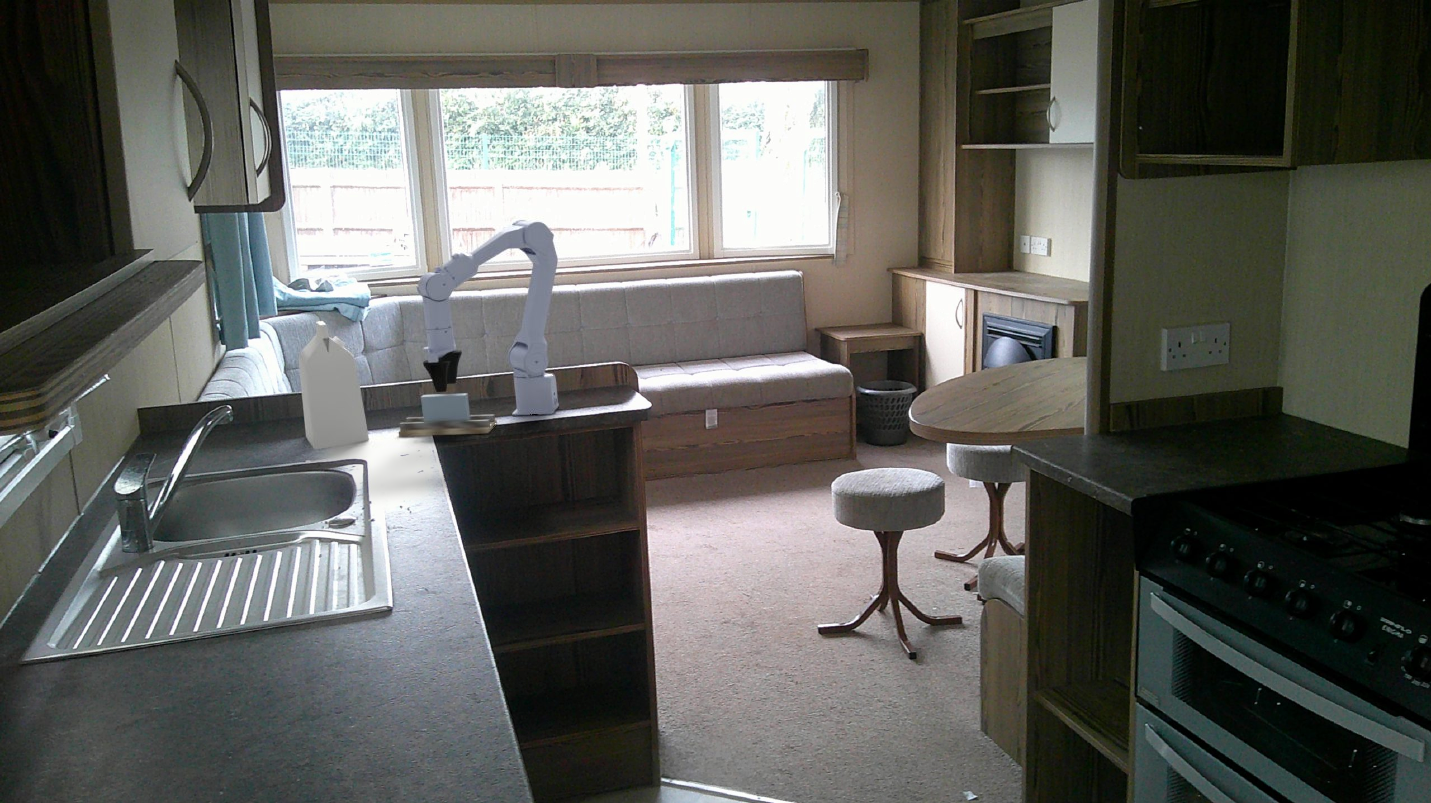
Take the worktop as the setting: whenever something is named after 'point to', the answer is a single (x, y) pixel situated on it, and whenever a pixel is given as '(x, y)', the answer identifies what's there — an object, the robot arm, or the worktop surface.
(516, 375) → the robot arm
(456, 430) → the track board
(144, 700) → the worktop surface
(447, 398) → the door panel
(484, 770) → the worktop surface
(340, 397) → the milk
